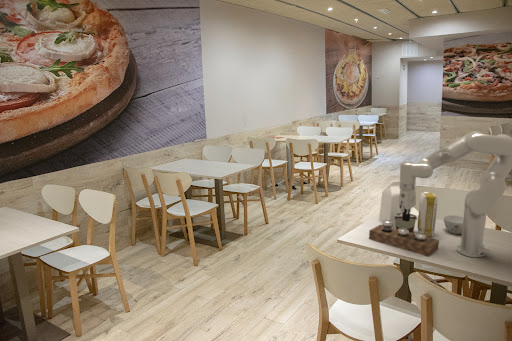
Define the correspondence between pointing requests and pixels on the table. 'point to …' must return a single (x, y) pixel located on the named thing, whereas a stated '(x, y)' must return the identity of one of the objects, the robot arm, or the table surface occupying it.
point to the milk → (390, 202)
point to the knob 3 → (420, 236)
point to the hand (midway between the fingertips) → (405, 220)
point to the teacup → (454, 223)
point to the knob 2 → (403, 232)
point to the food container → (405, 222)
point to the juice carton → (427, 213)
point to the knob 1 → (387, 225)
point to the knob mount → (404, 241)
